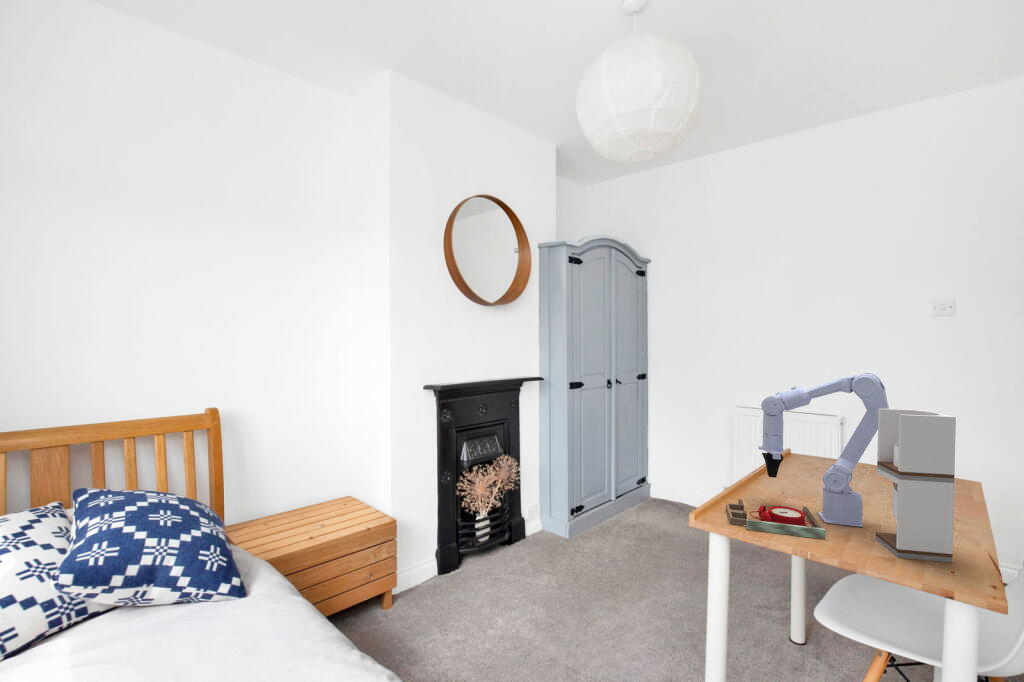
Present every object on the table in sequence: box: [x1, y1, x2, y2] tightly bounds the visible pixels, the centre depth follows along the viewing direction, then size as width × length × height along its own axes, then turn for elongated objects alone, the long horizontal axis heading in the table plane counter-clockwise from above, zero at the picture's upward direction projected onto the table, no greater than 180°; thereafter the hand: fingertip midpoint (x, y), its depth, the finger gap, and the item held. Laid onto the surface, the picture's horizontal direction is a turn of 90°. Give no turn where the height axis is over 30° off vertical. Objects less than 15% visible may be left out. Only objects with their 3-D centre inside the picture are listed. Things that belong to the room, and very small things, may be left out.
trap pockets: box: [725, 502, 746, 526], centre depth 146 cm, size 4×13×2 cm, turn 161°
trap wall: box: [737, 498, 827, 540], centre depth 143 cm, size 19×21×2 cm
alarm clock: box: [749, 504, 813, 527], centre depth 141 cm, size 10×6×15 cm
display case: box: [875, 408, 957, 563], centre depth 124 cm, size 11×11×35 cm
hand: (772, 476), depth 155 cm, fingers closed
